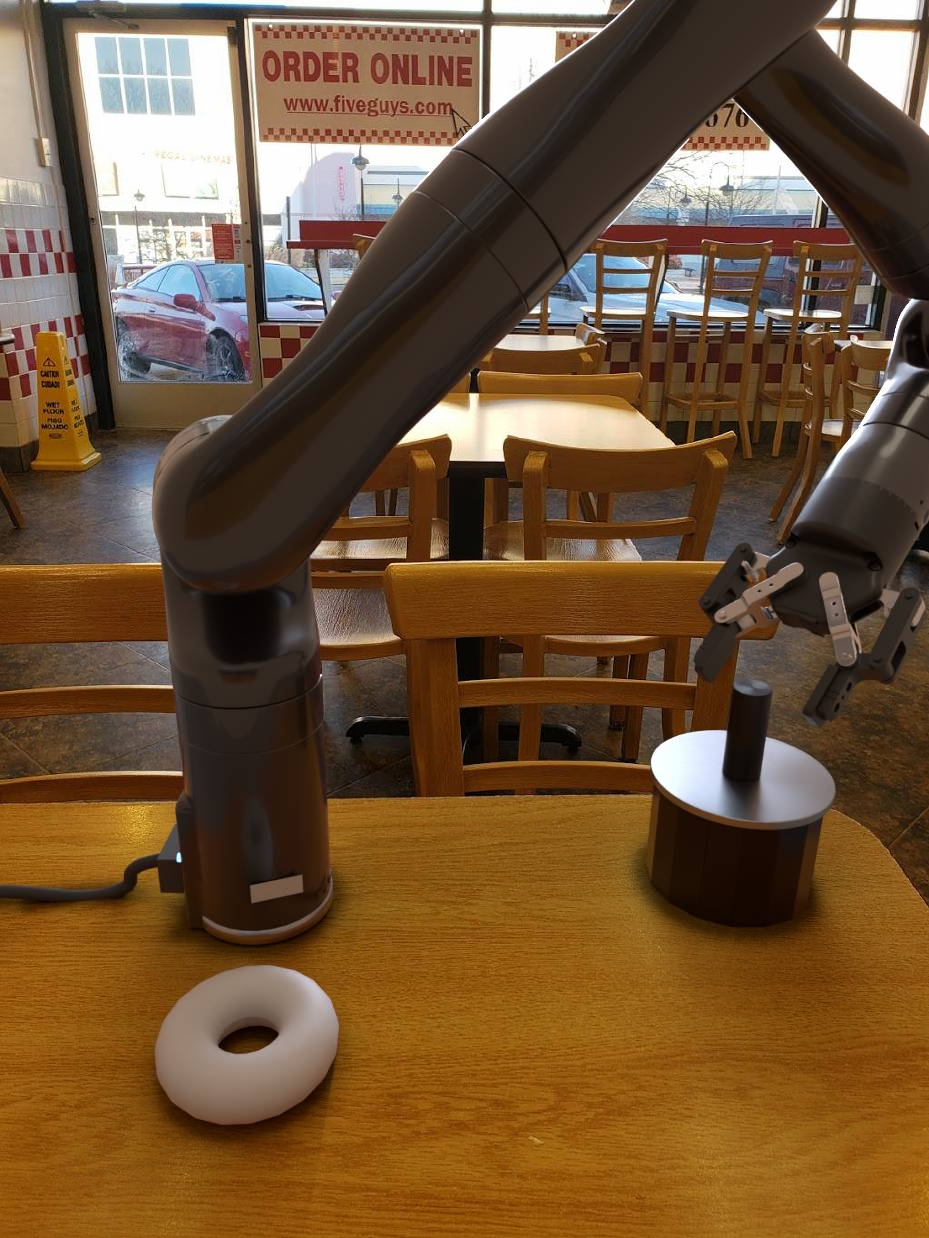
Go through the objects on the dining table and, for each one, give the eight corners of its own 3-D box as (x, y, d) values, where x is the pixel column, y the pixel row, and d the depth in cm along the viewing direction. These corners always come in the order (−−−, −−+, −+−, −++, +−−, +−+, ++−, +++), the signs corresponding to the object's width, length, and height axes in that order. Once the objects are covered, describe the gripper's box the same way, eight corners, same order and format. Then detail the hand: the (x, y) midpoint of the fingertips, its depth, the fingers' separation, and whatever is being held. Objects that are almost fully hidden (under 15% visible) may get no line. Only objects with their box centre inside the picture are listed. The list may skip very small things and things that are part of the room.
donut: (316, 1150, 48) (356, 1002, 57) (313, 1101, 46) (354, 957, 56) (127, 1132, 49) (196, 988, 58) (118, 1083, 47) (191, 944, 56)
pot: (662, 932, 63) (674, 825, 60) (634, 835, 74) (643, 739, 71) (831, 935, 63) (852, 827, 60) (779, 837, 74) (794, 741, 71)
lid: (668, 836, 60) (679, 729, 57) (636, 742, 72) (644, 649, 69) (861, 839, 60) (883, 732, 57) (798, 745, 72) (813, 652, 69)
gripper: (764, 456, 68) (649, 639, 66) (963, 493, 58) (836, 711, 56) (795, 515, 74) (689, 687, 71) (983, 559, 63) (867, 761, 61)
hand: (754, 697), depth 63 cm, fingers open, 8 cm apart
